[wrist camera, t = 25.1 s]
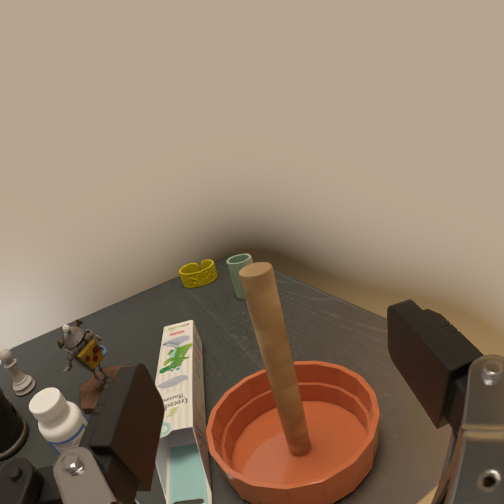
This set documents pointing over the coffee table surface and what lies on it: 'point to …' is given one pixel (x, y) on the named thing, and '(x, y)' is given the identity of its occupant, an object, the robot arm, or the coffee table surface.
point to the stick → (276, 352)
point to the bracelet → (198, 274)
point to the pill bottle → (58, 419)
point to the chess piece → (17, 374)
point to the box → (182, 417)
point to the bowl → (275, 445)
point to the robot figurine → (88, 363)
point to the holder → (234, 267)
